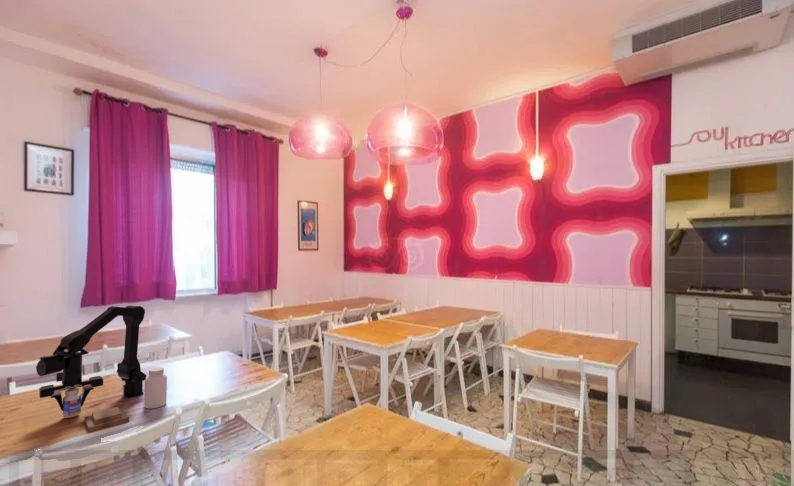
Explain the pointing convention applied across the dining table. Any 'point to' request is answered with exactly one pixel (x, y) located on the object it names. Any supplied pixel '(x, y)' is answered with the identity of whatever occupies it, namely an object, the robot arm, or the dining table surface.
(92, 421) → the walnut stand
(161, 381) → the pill bottle
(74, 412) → the pill bottle
